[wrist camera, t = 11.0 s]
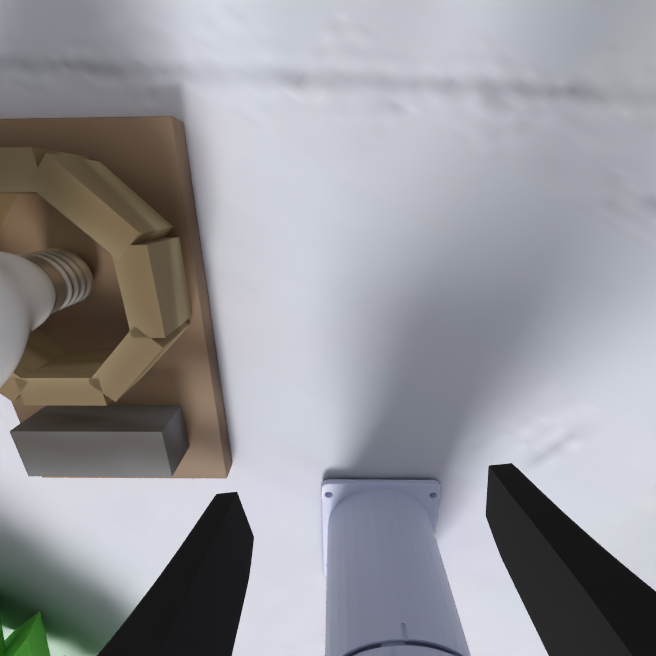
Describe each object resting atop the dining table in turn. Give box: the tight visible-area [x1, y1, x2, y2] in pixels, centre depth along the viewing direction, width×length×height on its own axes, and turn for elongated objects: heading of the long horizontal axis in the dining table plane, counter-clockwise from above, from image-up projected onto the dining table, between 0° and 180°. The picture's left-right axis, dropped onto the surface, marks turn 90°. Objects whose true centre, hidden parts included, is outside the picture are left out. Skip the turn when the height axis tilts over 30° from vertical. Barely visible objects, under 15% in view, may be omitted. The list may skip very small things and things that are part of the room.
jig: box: [0, 116, 232, 478], centre depth 17 cm, size 20×12×4 cm, turn 1°
